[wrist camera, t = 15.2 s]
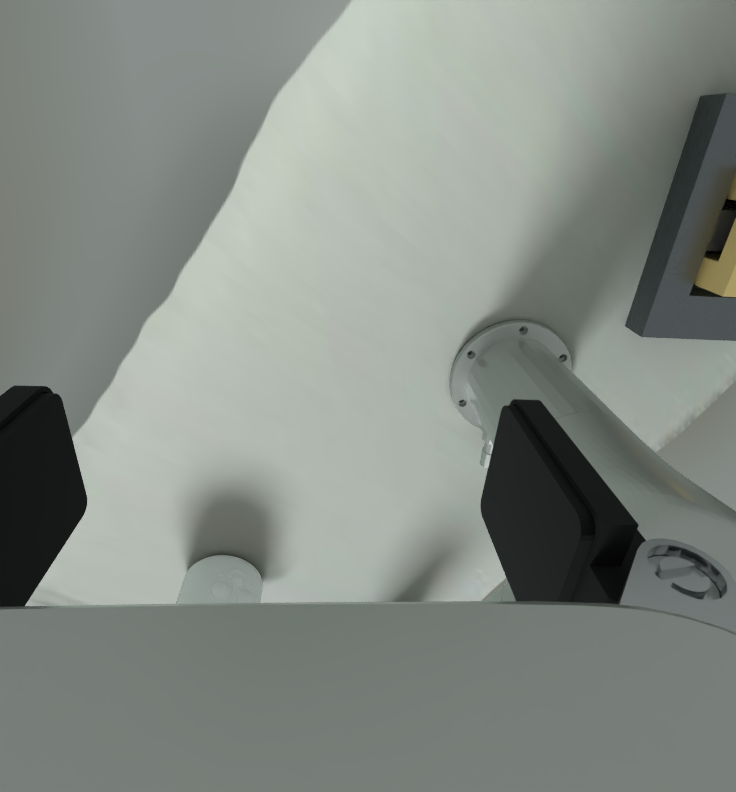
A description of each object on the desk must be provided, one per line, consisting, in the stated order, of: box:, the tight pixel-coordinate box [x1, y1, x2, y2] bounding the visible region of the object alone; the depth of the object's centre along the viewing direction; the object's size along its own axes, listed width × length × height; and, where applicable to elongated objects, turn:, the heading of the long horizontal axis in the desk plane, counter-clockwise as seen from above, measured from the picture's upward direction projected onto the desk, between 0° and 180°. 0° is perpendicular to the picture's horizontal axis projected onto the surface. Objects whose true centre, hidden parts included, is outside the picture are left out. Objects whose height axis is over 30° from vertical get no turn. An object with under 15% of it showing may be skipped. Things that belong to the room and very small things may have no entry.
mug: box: [176, 555, 262, 604], centre depth 59 cm, size 12×10×9 cm
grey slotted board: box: [625, 93, 736, 341], centre depth 44 cm, size 20×12×3 cm, turn 176°
